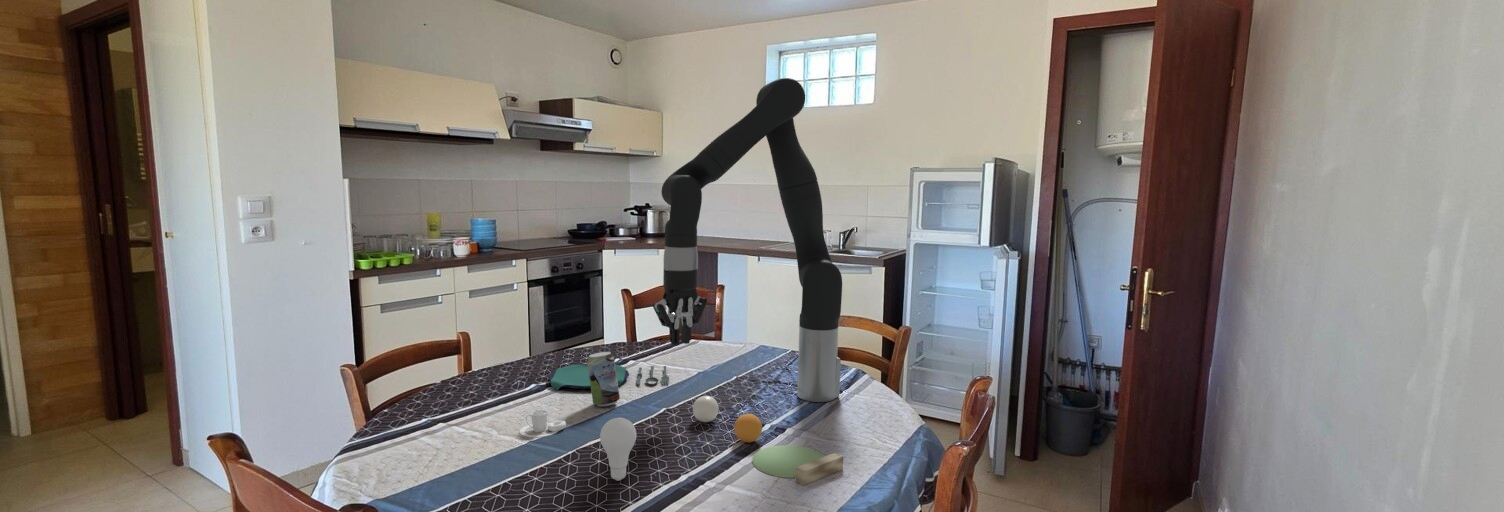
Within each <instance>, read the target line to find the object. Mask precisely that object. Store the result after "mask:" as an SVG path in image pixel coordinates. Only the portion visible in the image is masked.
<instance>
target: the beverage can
mask: <svg viewBox="0 0 1504 512" xmlns="http://www.w3.org/2000/svg"><path fill="white" fill-rule="evenodd" d="M615 361H616V359H615V357H614V355H613V354H612V353H611V351H600V352H595V353H592V354H590V355H589V356H588V359H587V363H586V364H588V371H589V379H590V386H591V388H590V391H591V399H592V404H594V405H596V406H597V407H599V408H600V407H601V408H602V407H608V406H612V405H615V404H616V403H617V402H618V401H619V400H620V391H619V385H618V382H617V374H616V367H615V365H616V362H615Z"/></svg>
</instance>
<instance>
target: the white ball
mask: <svg viewBox="0 0 1504 512" xmlns="http://www.w3.org/2000/svg"><path fill="white" fill-rule="evenodd" d="M719 410H720V409H719V404H718V401H717V400H716V399H715V398H714V397H712V396H709V395H703V396H699V397H698V398H697V399H696V400H695V401H694V403H693V406H692V413H693V416H694V417H695V419H696V420H698V421H699V422H702V423H710V422H712V421H713V420H715V419H716V417H717V416H718V413H719Z"/></svg>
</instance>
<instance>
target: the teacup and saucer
mask: <svg viewBox="0 0 1504 512" xmlns="http://www.w3.org/2000/svg"><path fill="white" fill-rule="evenodd" d="M528 417H531V423H530V422H529V420H528ZM525 421H526V424H527V425H525V426H523V427H521V428H520V430H519V434H520V435H521V436H523V437H527V438H543V437H549V436H552V435H554V434H557V433H558V432H559V431H562V430H563V429H565V428H566V426H567V422H566V421H565V420H555V421H552V422H548V411H547V410H535V411H532V412H531V413H528V414H527V415H526V416H525ZM528 428H532V429H533V431H534V432H536V433H542V432H545V431H546V429H547V430H548V431H550V432H549V433H545V434H542V435H541V434H540V435H533V434H532V435H531V434H528V433H526V432H525V431H526V430H527V429H528Z"/></svg>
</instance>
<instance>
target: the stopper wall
mask: <svg viewBox="0 0 1504 512" xmlns="http://www.w3.org/2000/svg"><path fill="white" fill-rule="evenodd" d="M824 456H825V457H822V458H820V459H817V460H814V461H812V462H809V463H806V464H804V465H801V466H798V467H796V478H795V482H797V483H798V484H800V485H803V486H805V485H808V484H810V483H812V482H815V481H817V480H821V479H823V478H824V477H828V476H830V475H833V474H835V473H837V472H840V471H843V469H844V467H843V466H844V455H841V454H839V453H837V452H833V453H831V454H827V455H824Z"/></svg>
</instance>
